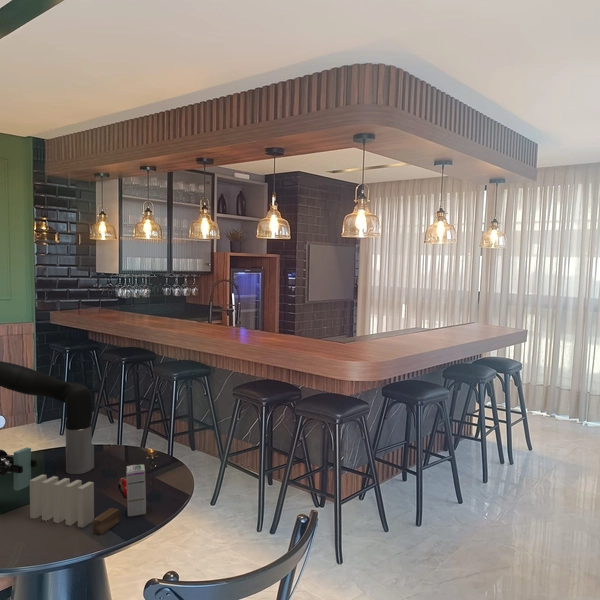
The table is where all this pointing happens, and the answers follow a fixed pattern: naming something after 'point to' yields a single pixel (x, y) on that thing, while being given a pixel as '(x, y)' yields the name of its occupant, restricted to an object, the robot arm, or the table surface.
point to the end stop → (105, 521)
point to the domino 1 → (23, 460)
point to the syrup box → (136, 490)
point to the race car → (123, 486)
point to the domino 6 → (85, 504)
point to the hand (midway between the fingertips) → (29, 466)
